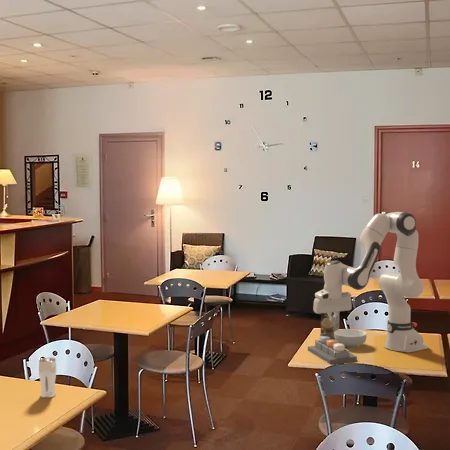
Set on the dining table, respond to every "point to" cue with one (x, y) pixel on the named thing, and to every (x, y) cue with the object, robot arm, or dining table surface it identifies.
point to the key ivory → (338, 347)
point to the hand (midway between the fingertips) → (332, 320)
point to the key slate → (324, 339)
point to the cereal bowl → (350, 337)
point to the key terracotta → (331, 343)
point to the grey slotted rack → (331, 353)
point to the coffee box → (329, 325)
